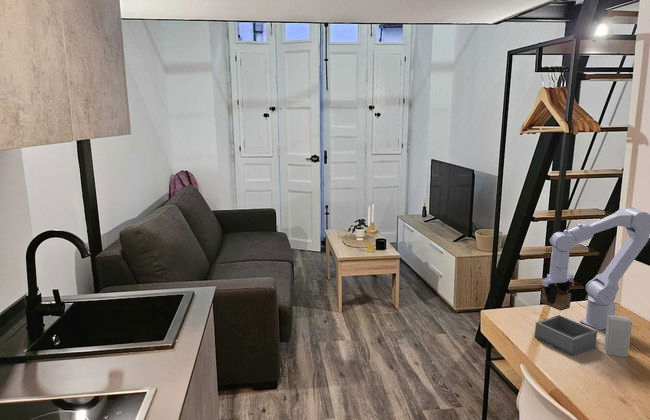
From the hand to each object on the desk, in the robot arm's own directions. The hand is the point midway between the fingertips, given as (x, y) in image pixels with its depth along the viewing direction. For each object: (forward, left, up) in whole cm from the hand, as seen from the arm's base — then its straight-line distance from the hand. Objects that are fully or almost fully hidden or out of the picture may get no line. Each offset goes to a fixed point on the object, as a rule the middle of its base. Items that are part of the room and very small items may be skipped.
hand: (555, 301), depth 171 cm
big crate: (+9, +11, -8) cm, 17 cm away
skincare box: (+1, +24, -9) cm, 25 cm away
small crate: (0, 0, -2) cm, 2 cm away
